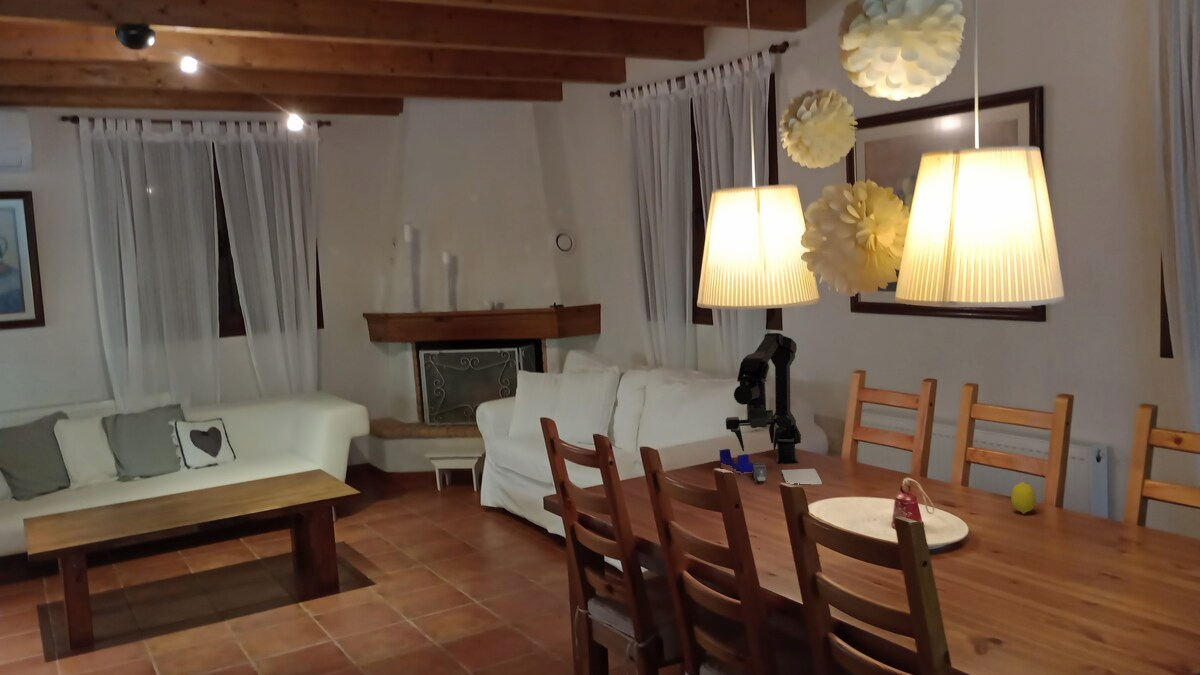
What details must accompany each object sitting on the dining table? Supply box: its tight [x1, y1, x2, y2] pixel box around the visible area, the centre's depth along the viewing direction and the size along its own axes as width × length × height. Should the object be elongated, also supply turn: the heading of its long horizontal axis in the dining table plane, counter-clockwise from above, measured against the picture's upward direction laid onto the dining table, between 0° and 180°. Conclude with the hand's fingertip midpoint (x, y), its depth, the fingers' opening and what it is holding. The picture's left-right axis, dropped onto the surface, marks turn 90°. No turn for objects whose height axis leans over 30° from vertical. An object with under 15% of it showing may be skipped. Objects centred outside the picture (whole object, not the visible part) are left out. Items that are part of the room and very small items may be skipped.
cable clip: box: [718, 448, 753, 473], centre depth 297 cm, size 12×4×6 cm, turn 25°
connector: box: [752, 462, 768, 483], centre depth 283 cm, size 4×12×4 cm, turn 174°
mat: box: [781, 468, 823, 486], centre depth 282 cm, size 16×10×1 cm, turn 174°
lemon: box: [1010, 481, 1037, 515], centre depth 232 cm, size 6×6×8 cm
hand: (758, 450), depth 284 cm, fingers open, 9 cm apart
